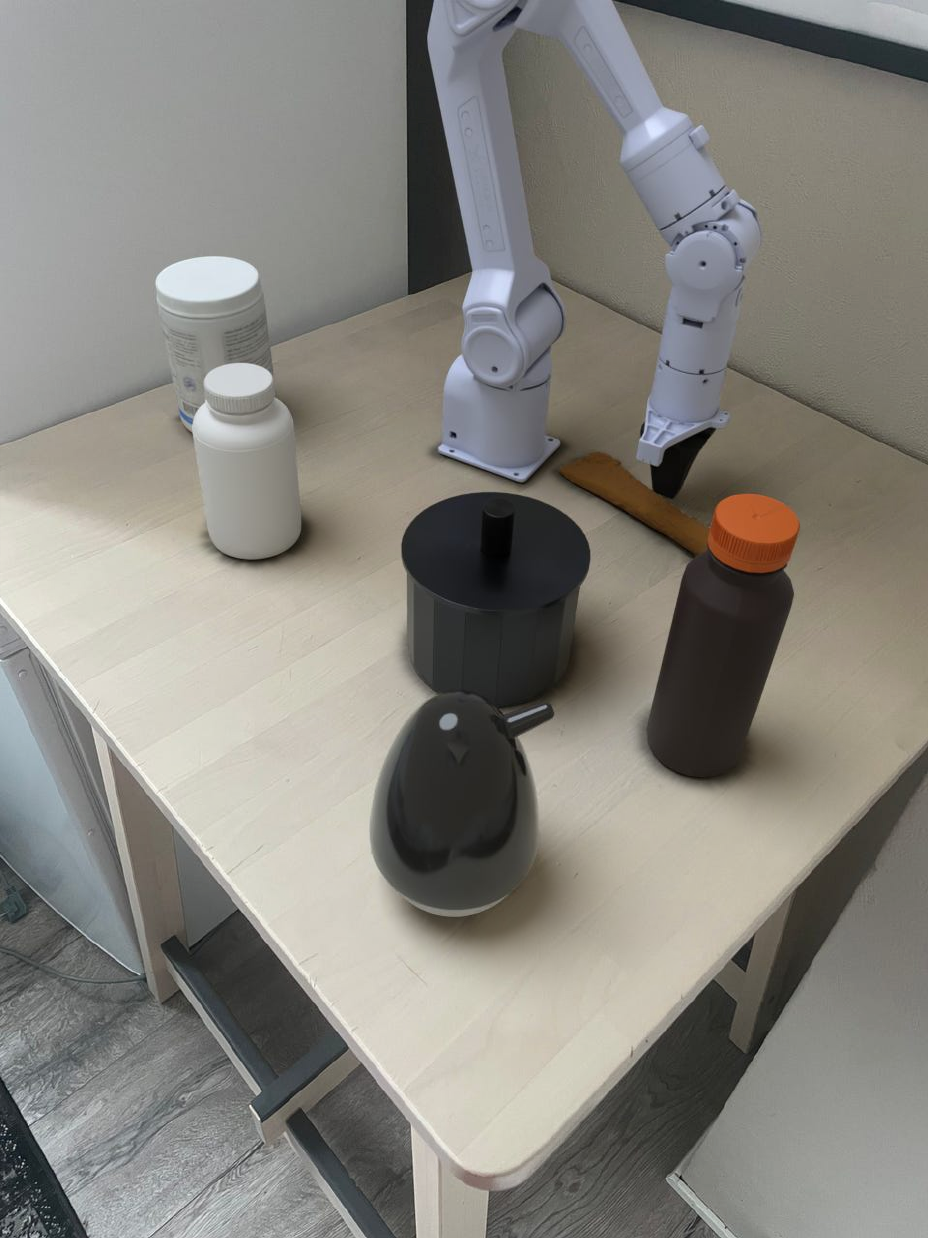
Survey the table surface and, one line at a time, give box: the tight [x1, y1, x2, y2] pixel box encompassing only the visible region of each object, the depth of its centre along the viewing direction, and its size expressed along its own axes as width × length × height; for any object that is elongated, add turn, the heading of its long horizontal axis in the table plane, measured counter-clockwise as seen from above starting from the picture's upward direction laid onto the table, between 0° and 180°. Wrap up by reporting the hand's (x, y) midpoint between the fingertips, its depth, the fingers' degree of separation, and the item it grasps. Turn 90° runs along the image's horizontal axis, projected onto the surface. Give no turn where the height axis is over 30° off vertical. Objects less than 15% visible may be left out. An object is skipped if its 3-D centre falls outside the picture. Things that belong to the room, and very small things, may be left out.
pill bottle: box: [191, 363, 302, 560], centre depth 84 cm, size 8×8×15 cm
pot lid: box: [400, 491, 592, 616], centre depth 72 cm, size 13×13×5 cm
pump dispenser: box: [368, 690, 555, 918], centre depth 59 cm, size 10×10×15 cm
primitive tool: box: [558, 451, 710, 557], centre depth 92 cm, size 19×6×4 cm, turn 37°
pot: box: [406, 573, 581, 708], centre depth 76 cm, size 12×12×10 cm
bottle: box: [645, 493, 801, 778], centre depth 66 cm, size 7×7×20 cm
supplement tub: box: [155, 255, 277, 434], centre depth 97 cm, size 10×10×15 cm
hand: (665, 492), depth 94 cm, fingers closed
